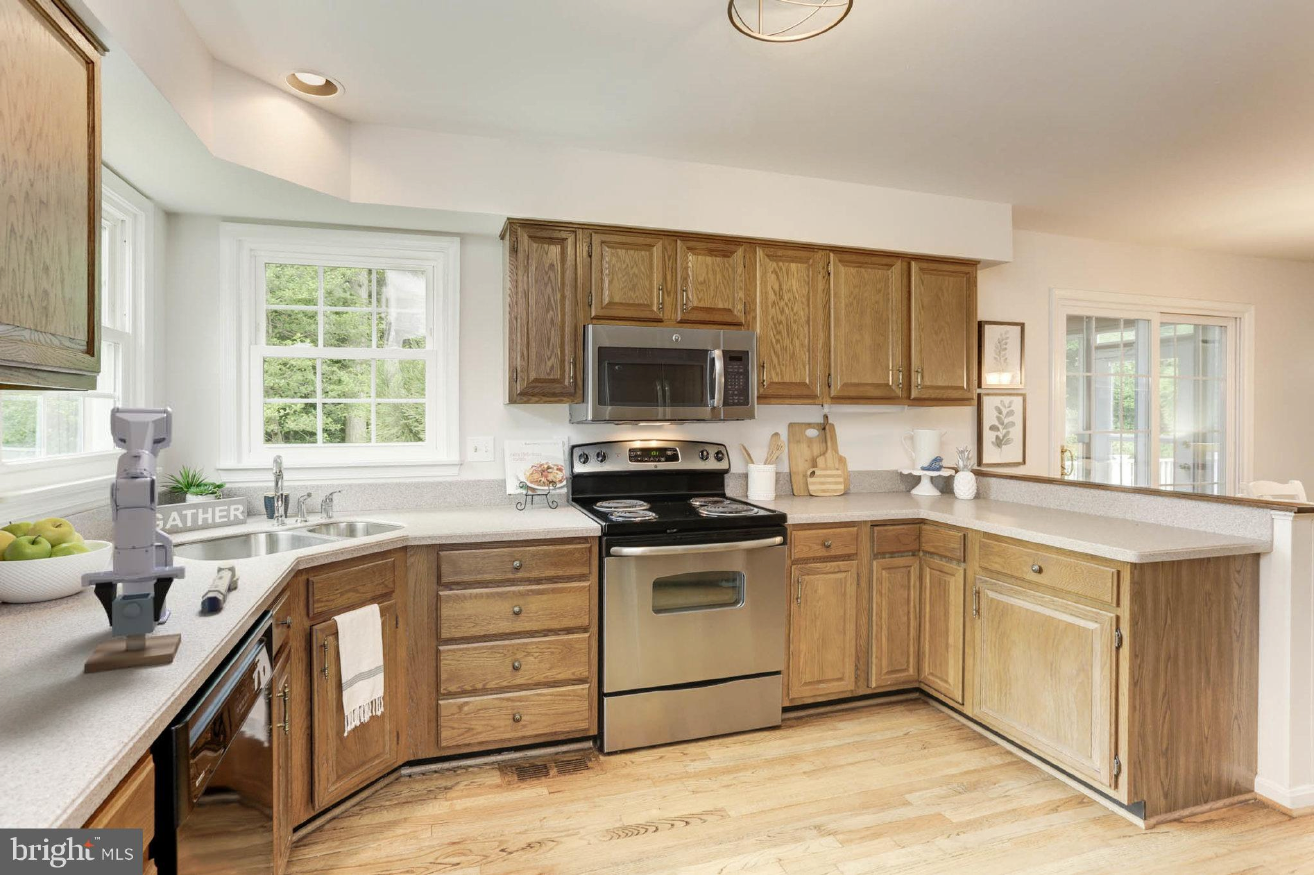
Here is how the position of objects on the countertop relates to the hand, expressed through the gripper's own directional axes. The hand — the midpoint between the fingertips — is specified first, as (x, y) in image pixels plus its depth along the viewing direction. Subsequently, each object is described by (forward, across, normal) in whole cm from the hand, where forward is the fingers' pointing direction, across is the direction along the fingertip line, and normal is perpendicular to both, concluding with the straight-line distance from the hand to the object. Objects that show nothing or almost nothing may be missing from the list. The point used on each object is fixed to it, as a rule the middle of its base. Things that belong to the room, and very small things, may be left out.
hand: (135, 622), depth 122 cm
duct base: (+6, 0, 0) cm, 6 cm away
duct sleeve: (+1, 0, 0) cm, 1 cm away
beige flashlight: (+6, +10, +38) cm, 40 cm away
